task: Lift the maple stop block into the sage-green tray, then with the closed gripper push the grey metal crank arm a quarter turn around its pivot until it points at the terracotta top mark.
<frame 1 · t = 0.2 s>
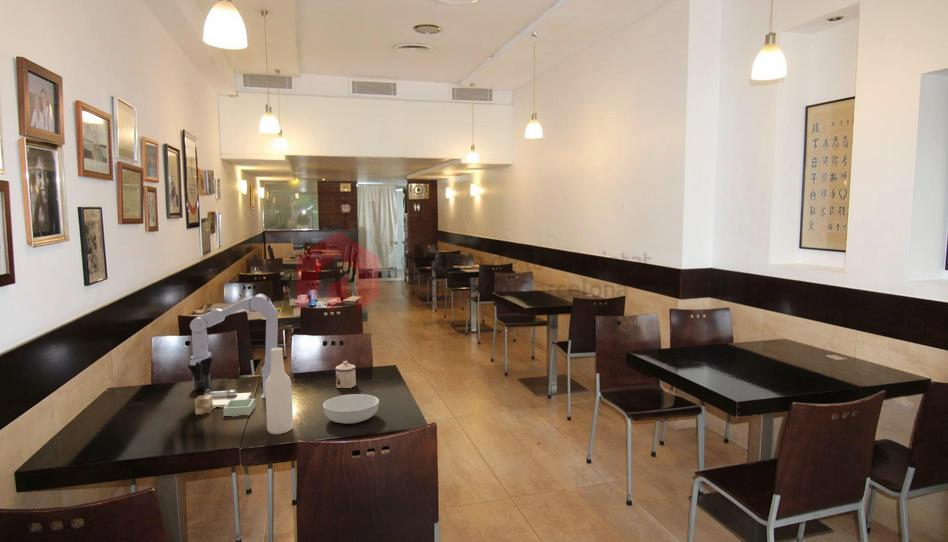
hand: (202, 377, 231), 10 cm above the table, tool pointing down, fingers open, 7 cm apart
crank board: (227, 401, 231), on the table
crank arm: (220, 392, 233), point 3 cm above the table, hinge at 0.0°
stop block: (204, 411, 219), on the table
teacup with lid: (346, 387, 249), on the table
alcohol: (280, 430, 200), on the table
serving bowl: (351, 420, 210), on the table
supplement bottle: (202, 389, 249), on the table
tray: (239, 411, 219), on the table
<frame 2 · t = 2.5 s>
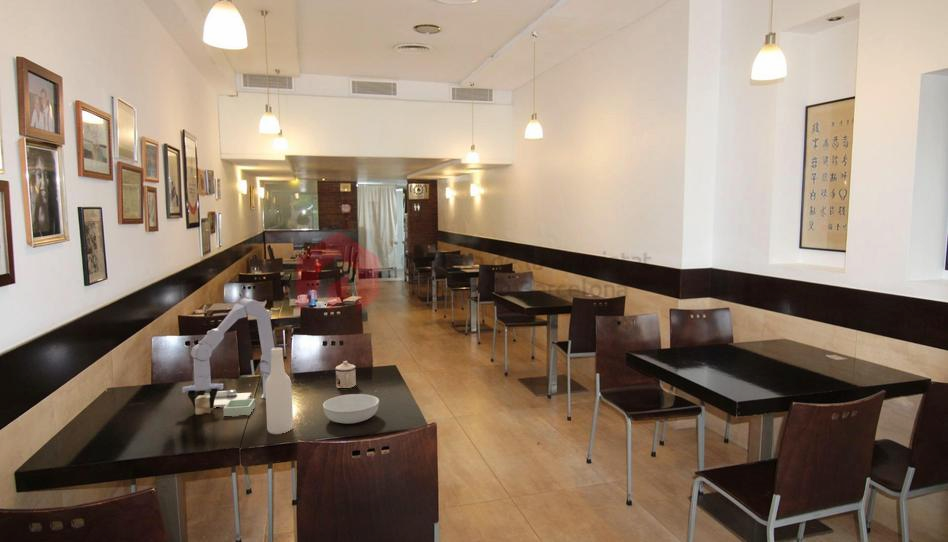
hand: (204, 408, 219), 1 cm above the table, tool pointing down, fingers closed on stop block, 5 cm apart
stop block: (204, 411, 219), on the table, touching gripper
everything else where it was.
when the fingers open (3 cm above the table, at t = 7.1 s): stop block drops 1 cm, resting on tray.
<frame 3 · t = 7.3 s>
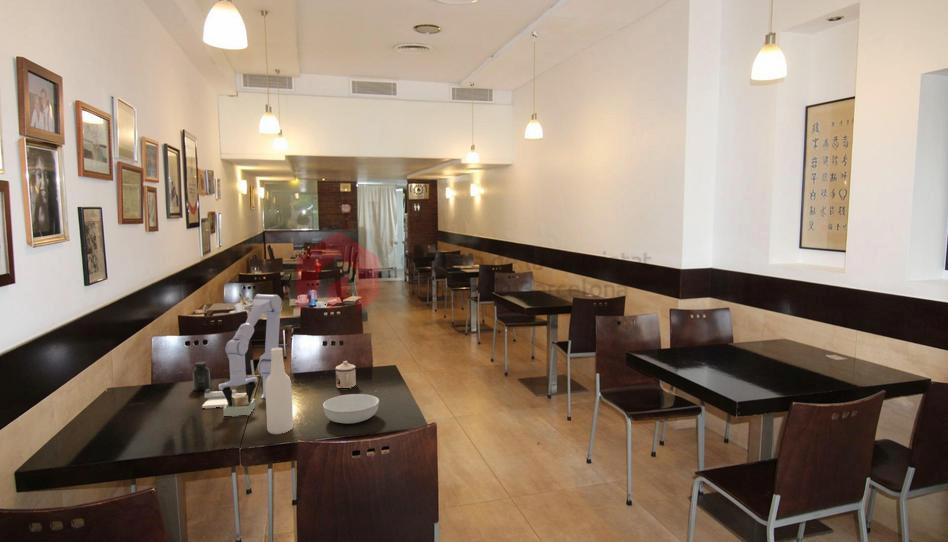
hand: (239, 403, 219), 3 cm above the table, tool pointing down, fingers open, 7 cm apart
stop block: (239, 410, 219), resting on tray
everything else where it was.
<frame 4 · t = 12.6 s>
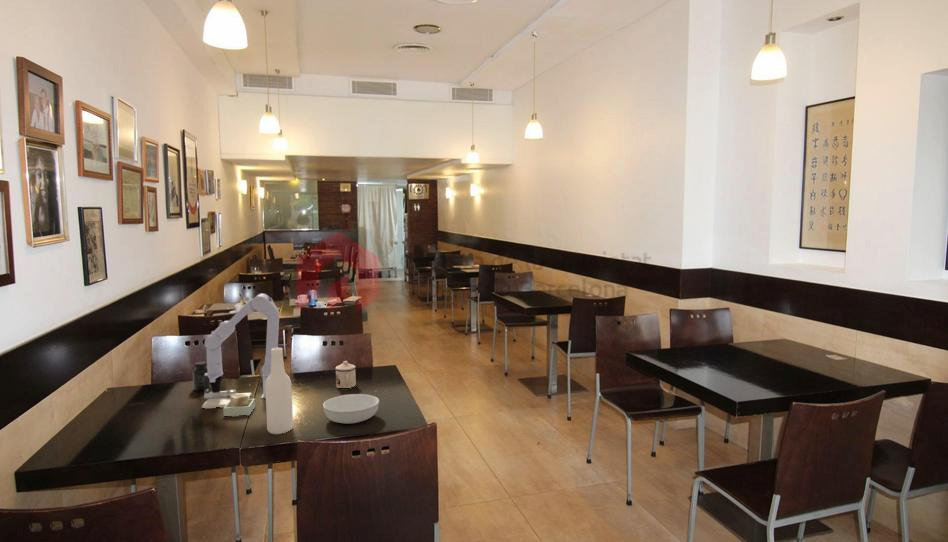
hand: (216, 394, 234), 2 cm above the table, tool pointing down, fingers closed, pressing on crank arm
crank arm: (220, 392, 233), point 3 cm above the table, hinge at 2.7°, touching gripper
everything else where it was.
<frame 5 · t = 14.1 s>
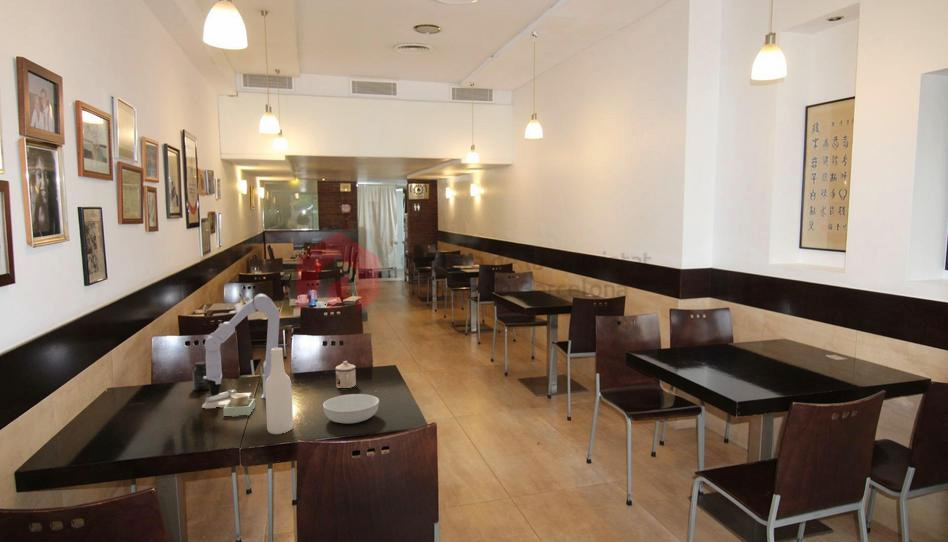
hand: (215, 397, 230), 2 cm above the table, tool pointing down, fingers closed, pressing on crank arm
crank arm: (221, 394, 231), point 3 cm above the table, hinge at 38.8°, touching gripper
everything else where it was.
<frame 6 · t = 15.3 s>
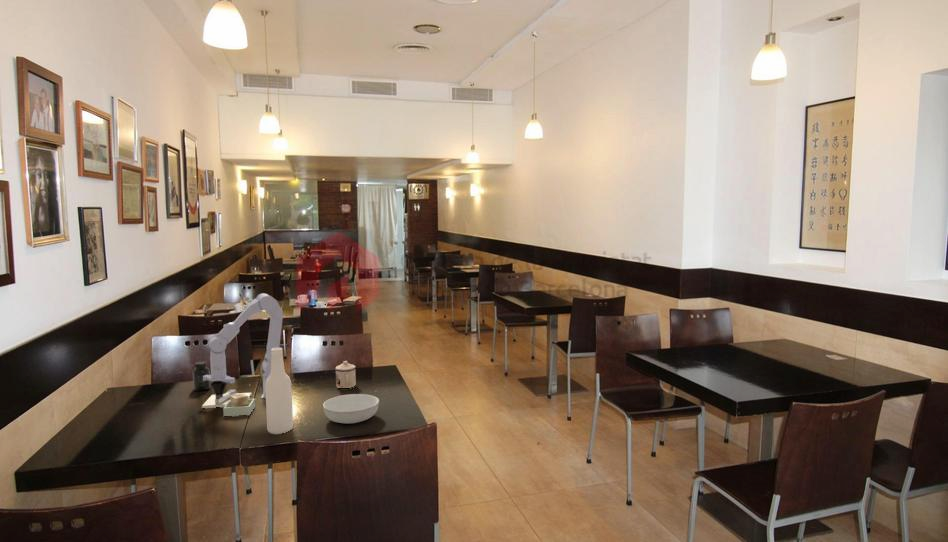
hand: (219, 398, 228), 2 cm above the table, tool pointing down, fingers closed, pressing on crank arm
crank arm: (225, 395, 230), point 3 cm above the table, hinge at 72.1°, touching gripper
everything else where it was.
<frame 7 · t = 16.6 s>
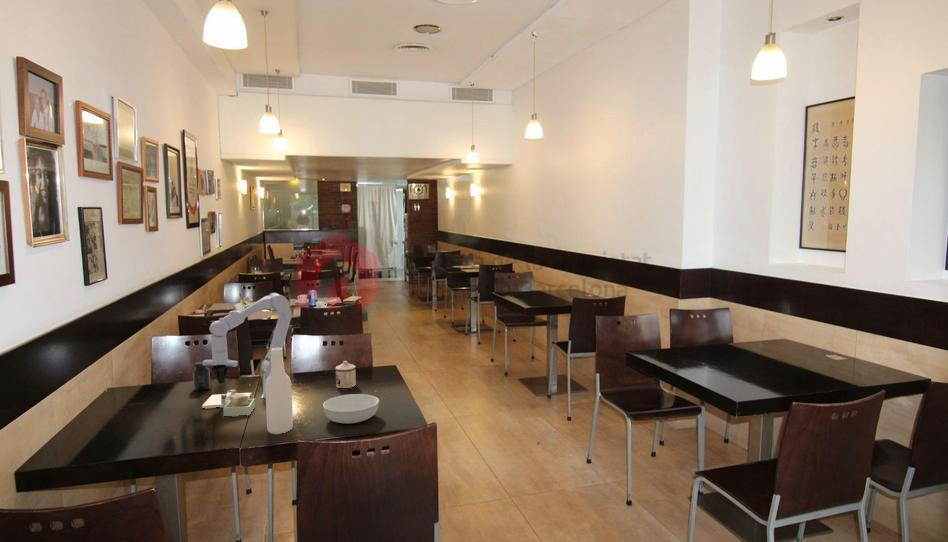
hand: (221, 382, 227), 9 cm above the table, tool pointing down, fingers closed
crank arm: (228, 395, 230), point 3 cm above the table, hinge at 86.1°
everything else where it was.
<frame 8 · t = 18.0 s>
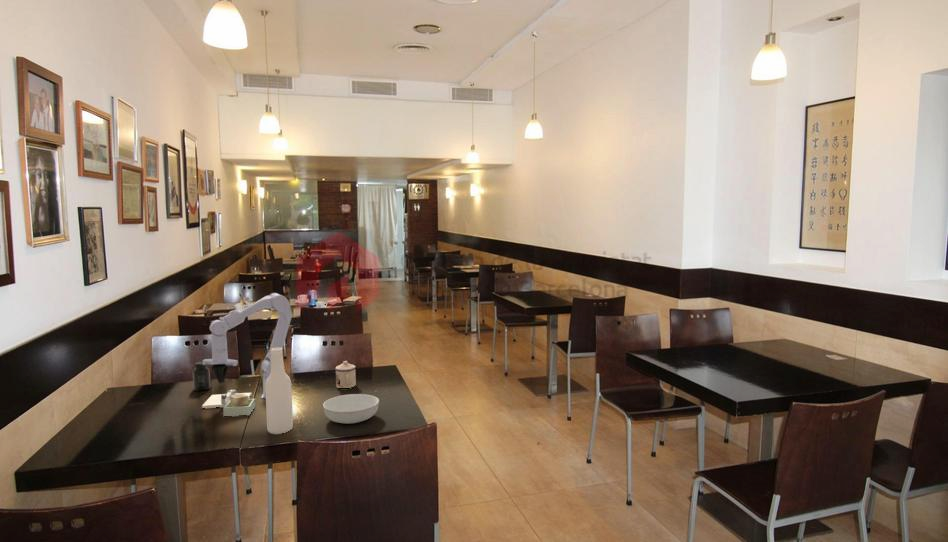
hand: (221, 382, 227), 9 cm above the table, tool pointing down, fingers closed
nothing on the table moved.
at the end: stop block 0.2 cm off-centre on the tray, point 0.5 cm above the tray's base; crank arm at +86° (first picture: +0°); stop block tilted 0° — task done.
